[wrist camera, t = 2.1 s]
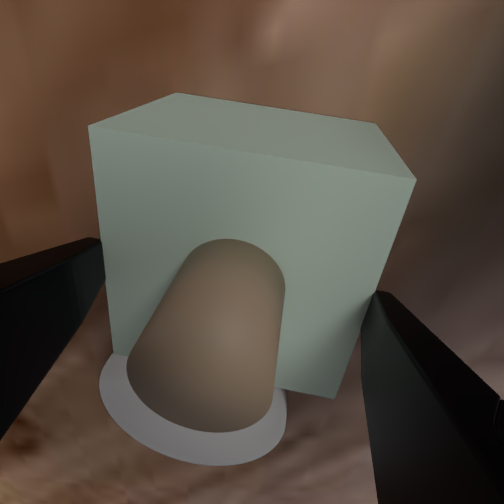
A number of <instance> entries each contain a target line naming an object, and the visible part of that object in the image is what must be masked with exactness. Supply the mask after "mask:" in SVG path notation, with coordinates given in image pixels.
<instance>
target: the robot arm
mask: <svg viewBox="0 0 504 504" xmlns="http://www.w3.org/2000/svg"><path fill="white" fill-rule="evenodd" d="M105 280H106V274H105V265H104V256H103V247H102V242H101V239H97V238H92V237H88V238H84V239H81V240H77V241H74V242H71V243H67V244H64V245H61V246H57V247H54V248H51V249H47V250H44V251H41V252H37V253H34V254H31V255H27V256H24V257H21V258H17V259H14V260H11V261H7V262H4V263H0V440H1V439H2V438H3V436H4V435H5V433H6V432H7V430H8V429H9V427H10V426H11V425H12V423H13V422H14V420H15V419H16V417H17V416H18V415H19V413H20V412H21V410H22V409H23V407H24V406H25V404H26V403H27V402H28V400H29V399H30V397H31V396H32V394H33V393H34V392H35V390H36V389H37V387H38V386H39V384H40V383H41V382H42V380H43V379H44V377H45V376H46V374H47V373H48V371H49V370H50V369H51V367H52V366H53V364H54V363H55V361H56V360H57V359H58V357H59V356H60V354H61V353H62V351H63V350H64V348H65V347H66V346H67V344H68V343H69V341H70V340H71V338H72V337H73V336H74V334H75V333H76V331H77V330H78V328H79V327H80V325H81V324H82V322H83V320H84V319H85V317H86V315H87V313H88V311H89V310H90V308H91V306H92V304H93V302H94V300H95V298H96V297H97V295H98V293H99V291H100V289H101V287H102V285H103V284H104V282H105ZM361 380H362V389H363V397H364V404H365V411H366V418H367V426H368V433H369V440H370V448H371V455H372V462H373V469H374V477H375V484H376V491H377V499H378V504H504V400H500V399H501V397H500V396H499V395H498V394H497V393H496V392H495V391H494V390H493V389H492V388H491V387H490V386H489V385H488V384H487V383H485V382H484V381H483V380H482V379H481V378H480V377H479V376H478V375H477V374H476V373H475V372H474V371H473V370H472V369H471V368H470V367H468V366H467V365H466V364H465V363H464V362H463V361H462V360H461V359H460V358H459V357H458V356H457V355H456V354H455V353H454V352H453V351H451V350H450V349H449V348H448V347H447V346H446V345H445V344H444V343H443V342H442V341H441V340H440V339H439V338H438V337H437V336H436V335H434V334H433V333H432V332H431V331H430V330H429V329H428V328H427V327H426V326H425V325H424V324H423V323H422V322H421V321H420V320H419V319H417V318H416V317H415V316H414V315H413V314H412V313H411V312H410V311H409V310H408V309H407V308H406V307H405V306H404V305H403V304H402V303H400V302H399V301H398V300H397V299H396V298H395V297H394V296H393V295H392V294H391V293H389V292H384V291H379V290H375V292H374V293H373V296H372V298H371V301H370V304H369V306H368V309H367V312H366V315H365V317H364V320H363V323H362V325H361Z"/></svg>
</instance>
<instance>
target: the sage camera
mask: <svg viewBox="0 0 504 504" xmlns="http://www.w3.org/2000/svg"><path fill="white" fill-rule="evenodd" d="M88 129H89V138H90V147H91V156H92V165H93V174H94V183H95V192H96V201H97V210H98V219H99V228H100V237H101V242H102V247H103V256H104V265H105V274H106V280H105V281H106V290H107V299H108V308H109V317H110V326H111V335H112V344H113V353H114V354H117V355H122V356H127V357H128V359H127V364H126V371H127V377H128V380H129V383H130V385H131V387H132V389H133V391H134V392H135V394H136V395H137V396H138V398H139V399H140V400H141V401H142V402H143V403H144V404H145V405H146V406H147V407H148V408H149V409H151V410H152V411H153V412H155V413H156V414H158V415H159V416H161V417H162V418H164V419H166V420H168V421H170V422H172V423H175V424H177V425H179V426H182V427H185V428H189V429H192V430H197V431H202V432H211V433H224V432H233V431H238V430H241V429H245V428H247V427H250V426H252V425H253V424H255V423H257V422H258V421H259V420H261V419H262V418H263V417H264V416H265V415H266V413H267V412H268V410H269V408H270V406H271V403H272V399H273V391H274V387H277V388H281V389H286V390H291V391H296V392H301V393H306V394H310V395H315V396H320V397H325V398H330V399H335V397H336V394H337V392H338V389H339V386H340V384H341V381H342V378H343V376H344V373H345V370H346V368H347V365H348V362H349V360H350V357H351V354H352V352H353V349H354V346H355V344H356V341H357V338H358V336H359V333H360V330H361V325H362V323H363V320H364V317H365V315H366V312H367V309H368V306H369V304H370V301H371V298H372V296H373V293H374V292H375V290H376V287H377V285H378V282H379V279H380V277H381V274H382V271H383V269H384V266H385V263H386V261H387V258H388V255H389V253H390V250H391V247H392V245H393V242H394V239H395V237H396V234H397V231H398V229H399V226H400V223H401V221H402V218H403V215H404V213H405V210H406V207H407V205H408V202H409V199H410V197H411V194H412V191H413V189H414V186H415V183H416V181H417V179H416V178H415V176H414V175H413V174H412V172H411V171H410V170H409V168H408V167H407V166H406V164H405V163H404V161H403V160H402V159H401V157H400V156H399V155H398V153H397V152H396V151H395V149H394V148H393V146H392V145H391V144H390V142H389V141H388V140H387V138H386V137H385V136H384V134H383V133H382V132H381V130H380V129H379V127H378V126H377V125H376V123H370V122H363V121H357V120H350V119H344V118H337V117H331V116H324V115H318V114H312V113H305V112H299V111H292V110H286V109H279V108H273V107H266V106H260V105H253V104H247V103H241V102H234V101H228V100H221V99H215V98H208V97H202V96H195V95H189V94H182V93H174V94H172V95H169V96H166V97H164V98H161V99H158V100H156V101H153V102H150V103H147V104H145V105H142V106H139V107H137V108H134V109H131V110H129V111H126V112H123V113H121V114H118V115H115V116H113V117H110V118H107V119H105V120H102V121H99V122H97V123H94V124H91V125H89V126H88Z"/></svg>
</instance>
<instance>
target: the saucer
mask: <svg viewBox="0 0 504 504" xmlns="http://www.w3.org/2000/svg"><path fill="white" fill-rule="evenodd" d="M127 359H128V357H127V356H122V355H117V354H114V353H112V354H111V356H110V357H109V359H108V360H107V362H106V364H105V365H104V367H103V369H102V372H101V375H100V381H99V388H100V395H101V398H102V401H103V403H104V405H105V408H106V409H107V411H108V413H109V414H110V416H111V417H112V418H113V419H114V421H115V422H116V423H117V424H118V425H119V426H120V427H121V428H122V429H123V430H124V431H125V432H126V433H128V434H129V435H130V436H131V437H133V438H134V439H135V440H137V441H138V442H140V443H141V444H143V445H145V446H147V447H148V448H150V449H152V450H154V451H156V452H158V453H161V454H163V455H166V456H168V457H171V458H174V459H177V460H181V461H185V462H189V463H194V464H200V465H210V466H227V465H236V464H242V463H246V462H250V461H253V460H255V459H258V458H260V457H262V456H264V455H265V454H267V453H268V452H270V451H271V450H272V449H273V448H274V447H275V446H276V445H277V444H278V443H279V441H280V440H281V438H282V436H283V434H284V431H285V427H286V417H287V404H288V403H287V394H286V391H285V389H281V388H277V387H274V391H273V399H272V403H271V406H270V408H269V410H268V412H267V413H266V415H265V416H264V417H263V418H262V419H261V420H259V421H258V422H257V423H255V424H253V425H252V426H250V427H247V428H245V429H241V430H238V431H233V432H224V433H211V432H202V431H197V430H192V429H189V428H185V427H182V426H179V425H177V424H175V423H172V422H170V421H168V420H166V419H164V418H162V417H161V416H159V415H158V414H156V413H155V412H153V411H152V410H151V409H149V408H148V407H147V406H146V405H145V404H144V403H143V402H142V401H141V400H140V399H139V398H138V396H137V395H136V394H135V392H134V391H133V389H132V387H131V385H130V383H129V380H128V377H127V371H126V364H127Z"/></svg>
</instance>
